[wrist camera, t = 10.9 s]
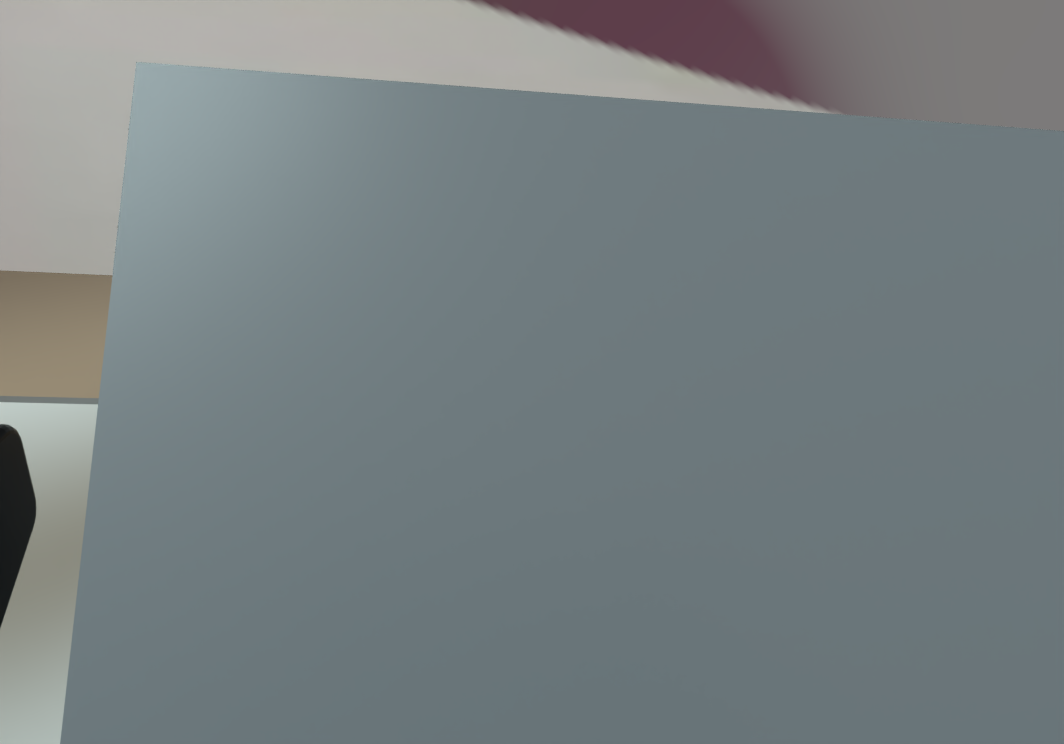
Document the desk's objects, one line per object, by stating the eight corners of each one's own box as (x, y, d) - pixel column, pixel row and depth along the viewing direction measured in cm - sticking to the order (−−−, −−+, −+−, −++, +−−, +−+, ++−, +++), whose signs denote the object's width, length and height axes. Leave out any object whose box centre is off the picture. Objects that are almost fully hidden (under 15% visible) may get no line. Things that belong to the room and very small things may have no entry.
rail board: (1023, 921, 17) (1374, 1107, 11) (-252, 1008, 14) (-770, 1344, 8) (947, 327, 20) (1192, 211, 14) (-118, 282, 16) (-416, 106, 10)
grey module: (593, 753, 15) (1340, 1384, 3) (322, 764, 14) (-38, 1620, 2) (585, 456, 16) (1100, 98, 4) (336, 453, 16) (141, 21, 4)
